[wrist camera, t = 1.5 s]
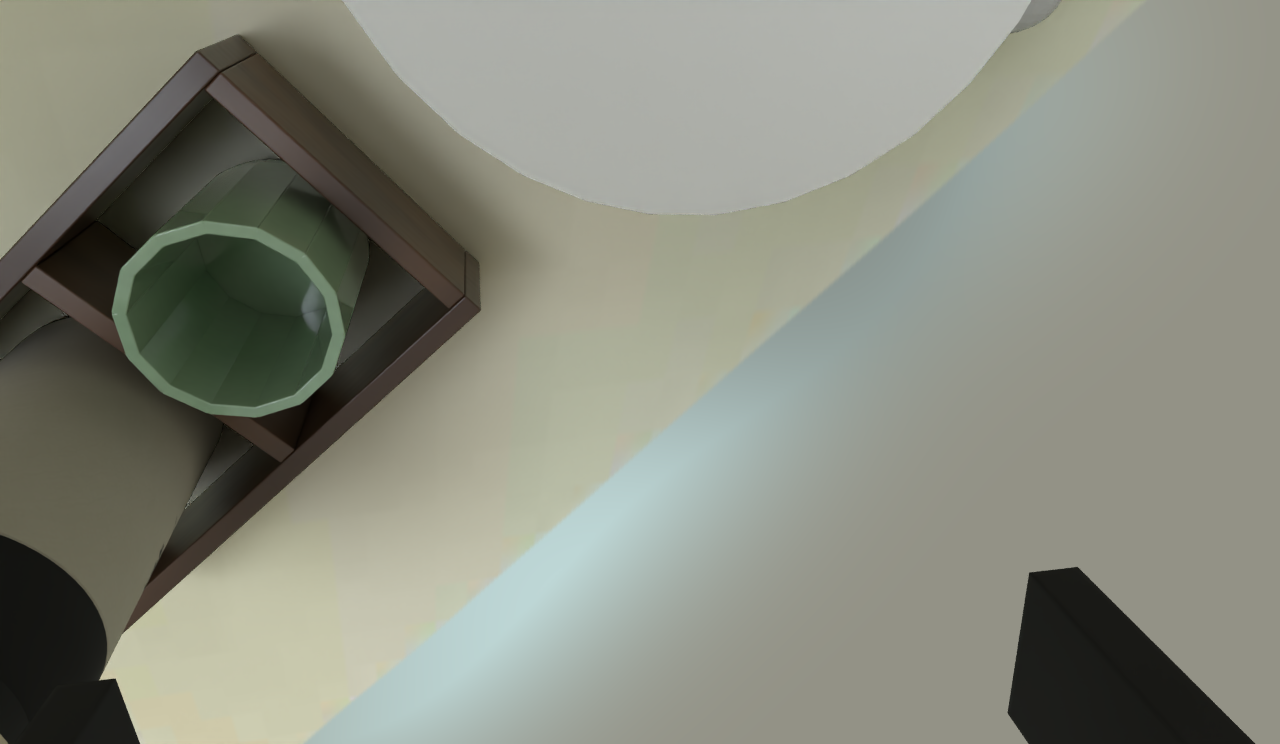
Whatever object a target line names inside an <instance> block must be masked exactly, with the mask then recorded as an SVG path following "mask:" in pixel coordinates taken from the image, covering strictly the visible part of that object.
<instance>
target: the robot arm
mask: <svg viewBox="0 0 1280 744" xmlns="http://www.w3.org/2000/svg"><path fill="white" fill-rule="evenodd" d="M1008 714H1009V716H1010V717H1011V719H1012V720H1013V721H1014V723H1015V724H1016V726H1017V728H1018V729H1019V730H1020V732H1021V733H1022V735H1023V736H1024V738H1025V739H1026V741H1027V742H1028V743H1029V744H1255V743H1254V742H1253V741H1252V740H1251V739H1250V738H1249V737H1248V736H1247V735H1246V734H1245V733H1244V732H1243V731H1242V730H1241V729H1240V728H1239V727H1238V726H1237V725H1236V724H1235V723H1234V722H1233V721H1232V720H1231V719H1230V718H1229V717H1228V716H1227V715H1226V714H1225V713H1224V712H1223V711H1222V710H1221V709H1220V708H1219V707H1218V706H1217V705H1216V704H1215V703H1214V702H1213V701H1212V700H1211V699H1210V698H1209V697H1207V695H1206V694H1205V693H1204V692H1203V691H1202V690H1201V689H1200V688H1199V687H1198V686H1196V684H1195V683H1194V682H1193V681H1192V680H1190V678H1189V677H1188V676H1187V675H1186V674H1185V673H1183V671H1182V670H1181V669H1180V668H1179V667H1178V666H1177V665H1175V663H1174V662H1173V661H1172V660H1170V658H1169V657H1168V656H1167V655H1166V654H1164V653H1163V651H1161V649H1160V648H1159V647H1157V645H1155V644H1154V643H1153V642H1152V641H1151V640H1150V639H1149V638H1148V637H1147V636H1146V635H1145V634H1144V633H1143V632H1142V631H1141V630H1140V629H1139V628H1138V627H1137V626H1136V625H1135V624H1134V623H1133V622H1132V621H1131V620H1130V619H1129V618H1128V617H1127V616H1126V615H1125V614H1124V613H1123V612H1122V611H1121V610H1120V609H1119V608H1118V607H1117V606H1116V605H1115V604H1114V603H1113V602H1112V601H1111V600H1110V599H1109V598H1108V597H1107V596H1106V595H1105V594H1104V593H1103V592H1102V591H1101V590H1100V589H1099V588H1098V587H1097V586H1096V585H1095V584H1094V583H1093V582H1092V581H1091V580H1090V579H1089V578H1088V577H1087V576H1086V575H1085V574H1084V573H1083V572H1082V571H1081V570H1080V569H1079V568H1078V567H1074V568H1065V569H1057V570H1048V571H1040V572H1031V573H1029V579H1028V584H1027V591H1026V597H1025V604H1024V610H1023V617H1022V623H1021V630H1020V636H1019V642H1018V649H1017V656H1016V662H1015V668H1014V675H1013V681H1012V688H1011V695H1010V701H1009V708H1008ZM14 744H140V743H139V740H138V737H137V735H136V732H135V729H134V727H133V724H132V721H131V719H130V716H129V713H128V711H127V708H126V705H125V703H124V700H123V697H122V695H121V692H120V689H119V687H118V684H117V681H116V679H108V680H99V681H91V682H82V683H73V684H65V685H57V686H56V687H55V688H54V690H53V691H52V692H51V694H50V695H49V697H48V698H47V699H46V701H45V702H44V703H43V705H42V706H41V707H40V709H39V710H38V712H37V713H36V714H35V716H34V717H33V718H32V720H31V721H30V722H29V724H28V725H27V726H26V728H25V729H24V731H23V732H22V733H21V735H20V736H19V737H18V739H17V740H16V741H15V743H14Z"/></svg>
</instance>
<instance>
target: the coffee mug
mask: <svg viewBox="0 0 1280 744" xmlns="http://www.w3.org/2000/svg"><path fill="white" fill-rule="evenodd" d="M1060 1H1061V0H1031V2H1030V4H1029V5H1028V7H1027V9H1026V10H1025V12H1024V14H1023V16H1022V17H1021V19H1020V21H1019V22H1018V24H1017V25H1016V26H1015V27H1014V29H1013V30H1012V31H1011V33H1013V32H1019V31H1022V30H1025V29H1027V28H1030V27H1033V26H1035V25H1037V24H1038V23H1040V22H1041V21H1042V20H1044V19H1045V18H1047V17H1048V16H1049V15H1050V14H1051V13H1052V12H1053V11H1054V10H1055V9H1056V8H1057V6H1058V5H1059V3H1060Z"/></svg>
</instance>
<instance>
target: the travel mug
mask: <svg viewBox="0 0 1280 744" xmlns="http://www.w3.org/2000/svg"><path fill="white" fill-rule="evenodd" d="M222 427H223V422H221V421H220V420H219V419H217V418H216V417H214V416H213V415H211V414H209V413H205V412H203V411H200V410H198V409H196V408H194V407H192V406H189V405H187V404H185V403H183V402H181V401H178V400H176V399H174V398H172V397H169V396H167V395H165V394H163V392H160V391H159V390H158V389H157V388H156V387H155V386H154V385H153V384H152V383H151V382H150V381H149V380H148V379H147V378H146V377H145V375H144V374H143V373H142V372H141V371H140V370H139V369H138V368H137V367H136V366H135V365H134V364H133V363H132V362H131V361H130V360H129V359H128V358H127V356H126V355H125V354H124V353H122V352H121V351H119V350H118V349H116V348H115V347H113V346H112V345H111V344H109V343H108V342H106V341H105V340H103V339H102V338H101V337H99V336H98V335H96V334H95V333H93V332H92V331H90V330H89V329H88V328H86V327H85V326H83V325H82V324H80V323H79V322H77V321H76V320H75V319H73V318H72V317H71V318H66V319H63V320H59V321H56V322H53V323H50V324H48V325H46V326H44V327H42V328H40V329H38V330H36V331H35V332H33V333H32V334H30V335H29V336H28V337H27V338H25V339H24V340H23V341H22V342H21V343H20V344H19V345H17V346H16V347H15V348H14V349H13V350H12V351H11V352H10V353H8V354H7V355H6V356H5V357H4V358H3V359H2V360H1V361H0V744H14V743H15V741H16V740H17V739H18V737H19V736H20V735H21V733H22V732H23V731H24V729H25V728H26V726H27V725H28V724H29V722H30V721H31V720H32V718H33V717H34V716H35V714H36V713H37V712H38V710H39V709H40V707H41V706H42V705H43V703H44V702H45V701H46V699H47V698H48V697H49V695H50V694H51V692H52V691H53V690H54V688H55V687H56V686H57V685H65V684H73V683H82V682H91V681H99V679H100V677H101V675H102V673H103V671H104V669H105V667H106V665H107V663H108V661H109V659H110V657H111V655H112V653H113V651H114V649H115V647H116V645H117V643H118V641H119V639H120V637H121V635H122V633H123V631H124V629H125V627H126V625H127V623H128V621H129V619H130V617H131V615H132V613H133V611H134V609H135V607H136V605H137V603H138V601H139V599H140V597H141V595H142V593H143V591H144V589H145V587H146V585H147V583H148V581H149V579H150V577H151V575H152V573H153V571H154V569H155V567H156V565H157V563H158V561H159V559H160V557H161V555H162V553H163V551H164V549H165V547H166V545H167V543H168V541H169V539H170V537H171V535H172V533H173V531H174V529H175V527H176V525H177V523H178V521H179V519H180V517H181V515H182V513H183V511H184V509H185V507H186V505H187V503H188V501H189V499H190V497H191V495H192V493H193V491H194V489H195V487H196V485H197V483H198V481H199V479H200V477H201V475H202V473H203V471H204V469H205V467H206V465H207V463H208V461H209V459H210V457H211V455H212V453H213V451H214V449H215V447H216V444H217V442H218V440H219V438H220V435H221V432H222Z"/></svg>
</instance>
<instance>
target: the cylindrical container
mask: <svg viewBox="0 0 1280 744" xmlns="http://www.w3.org/2000/svg"><path fill="white" fill-rule="evenodd" d="M342 1H343V3H344V4H345V5H346V7H347V8H348V9H349V11H350V12H351V13H352V15H353V16H354V18H355V19H356V20H357V22H358V23H359V24H360V26H361V27H362V29H363V30H364V31H365V33H366V34H367V35H368V37H369V38H370V40H371V41H372V42H373V44H374V45H375V46H376V48H377V49H378V51H379V52H380V53H381V55H382V56H383V57H384V59H385V60H386V61H387V63H388V64H389V66H390V67H391V68H392V70H393V71H394V72H395V74H396V75H397V76H398V77H399V78H400V79H401V80H402V81H403V82H404V83H405V84H406V85H407V86H408V87H409V88H410V89H412V90H413V91H414V92H415V93H416V94H417V95H418V96H419V97H420V98H421V99H422V100H423V101H424V102H425V103H426V104H427V105H428V106H429V107H431V108H432V109H433V110H434V111H435V112H436V113H437V114H438V115H439V116H440V117H441V118H442V119H443V120H444V121H445V122H446V123H447V124H449V125H450V126H451V127H452V128H453V129H454V130H455V131H456V132H457V133H458V134H459V135H461V136H462V137H464V138H465V139H467V140H468V141H470V142H472V143H473V144H475V145H476V146H478V147H479V148H481V149H482V150H484V151H486V152H487V153H489V154H490V155H492V156H493V157H495V158H496V159H498V160H500V161H501V162H503V163H504V164H506V165H507V166H509V167H510V168H512V169H514V170H515V171H517V172H518V173H520V174H521V175H523V176H525V177H528V178H530V179H532V180H535V181H537V182H540V183H542V184H545V185H547V186H550V187H552V188H555V189H557V190H560V191H562V192H564V193H567V194H569V195H572V196H574V197H577V198H579V199H582V200H584V201H587V202H592V203H597V204H602V205H607V206H611V207H616V208H621V209H626V210H631V211H636V212H641V213H646V214H669V215H719V214H724V213H730V212H735V211H740V210H746V209H751V208H756V207H762V206H767V205H772V204H778V203H783V202H786V201H789V200H791V199H794V198H796V197H799V196H801V195H804V194H806V193H809V192H811V191H814V190H816V189H819V188H821V187H824V186H826V185H829V184H831V183H834V182H836V181H838V180H841V179H843V178H846V177H848V176H851V175H852V174H854V173H856V172H857V171H859V170H860V169H862V168H863V167H865V166H867V165H868V164H870V163H871V162H873V161H874V160H876V159H877V158H879V157H881V156H882V155H884V154H885V153H887V152H888V151H890V150H892V149H893V148H895V147H896V146H898V145H899V144H901V143H903V142H904V141H906V140H907V139H909V138H910V137H912V136H913V135H915V134H916V133H917V132H918V131H919V130H920V129H921V128H922V127H923V126H924V125H925V124H927V123H928V122H929V121H930V120H931V119H932V118H933V117H934V116H935V115H936V114H937V113H939V112H940V111H941V110H942V109H943V108H944V107H945V106H946V105H947V104H948V103H949V102H951V101H952V100H953V99H954V98H955V97H956V96H957V95H958V94H959V93H960V92H961V91H963V90H964V89H965V88H966V87H967V86H968V85H969V84H970V83H971V82H972V80H973V79H974V78H975V77H976V75H977V74H978V73H979V72H980V70H981V69H982V68H983V67H984V65H985V64H986V63H987V62H988V60H989V59H990V58H991V57H992V55H993V54H994V53H995V51H996V50H997V49H998V48H999V46H1000V45H1001V44H1002V43H1003V41H1004V40H1005V39H1006V38H1007V36H1008V35H1009V34H1010V33H1011V31H1012V30H1013V29H1014V27H1015V26H1016V25H1017V24H1018V22H1019V21H1020V19H1021V17H1022V16H1023V14H1024V12H1025V10H1026V9H1027V7H1028V5H1029V4H1030V2H1031V0H342Z"/></svg>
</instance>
